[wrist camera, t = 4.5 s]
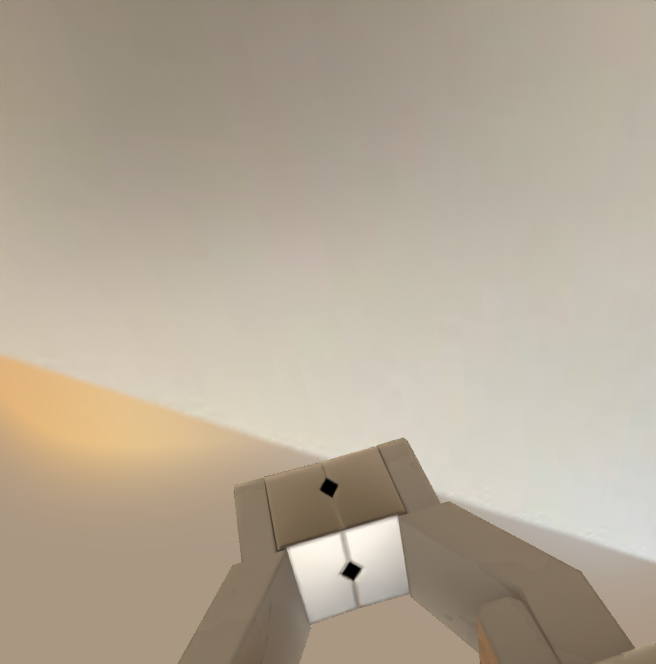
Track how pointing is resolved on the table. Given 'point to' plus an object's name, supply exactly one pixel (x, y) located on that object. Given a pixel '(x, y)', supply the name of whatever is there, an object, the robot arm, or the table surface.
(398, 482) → the robot arm
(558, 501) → the table surface
